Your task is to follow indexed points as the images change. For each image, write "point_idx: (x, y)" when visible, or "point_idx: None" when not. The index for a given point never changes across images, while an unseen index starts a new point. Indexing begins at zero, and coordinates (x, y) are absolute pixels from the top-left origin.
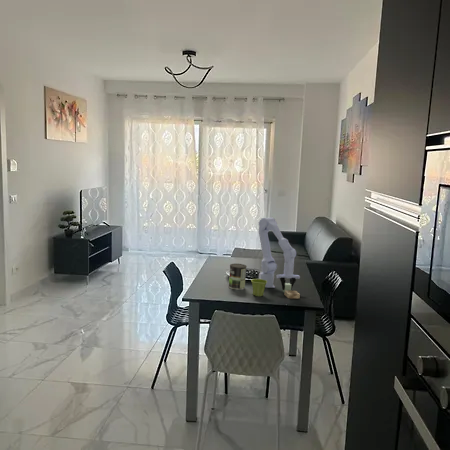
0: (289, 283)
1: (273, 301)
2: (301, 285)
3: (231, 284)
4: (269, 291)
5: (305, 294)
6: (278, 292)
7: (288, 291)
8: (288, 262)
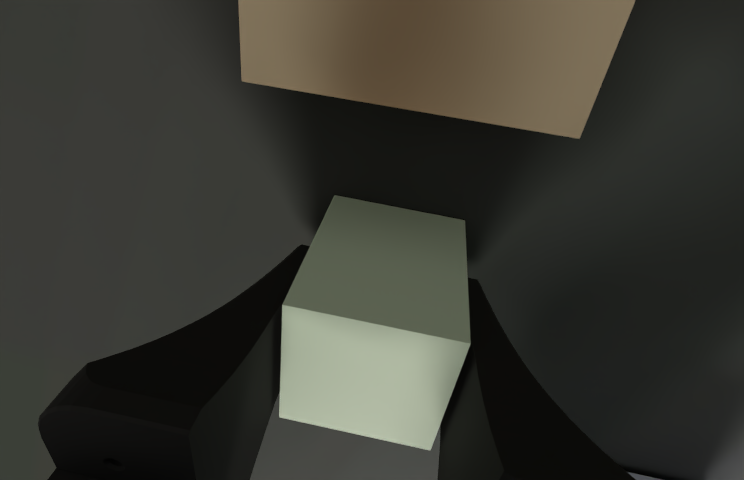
0: (287, 403)
1: None
2: None
3: None
4: (722, 336)
5: (45, 49)
6: (581, 259)
7: (529, 15)
8: None
